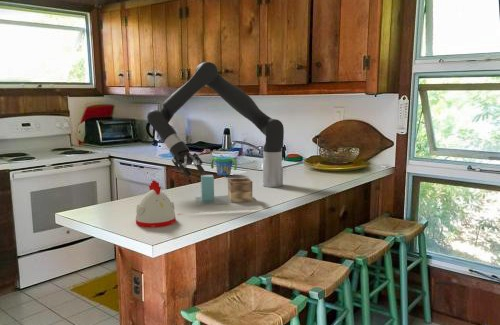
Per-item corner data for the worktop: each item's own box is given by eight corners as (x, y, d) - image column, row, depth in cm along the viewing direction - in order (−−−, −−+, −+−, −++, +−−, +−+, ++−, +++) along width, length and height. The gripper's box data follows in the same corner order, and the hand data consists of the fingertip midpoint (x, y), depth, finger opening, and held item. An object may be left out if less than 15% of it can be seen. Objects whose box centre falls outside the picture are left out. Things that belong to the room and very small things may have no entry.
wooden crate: (248, 196, 190) (248, 177, 189) (252, 201, 181) (252, 181, 180) (228, 197, 188) (227, 178, 187) (231, 202, 180) (230, 182, 179)
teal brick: (212, 197, 188) (212, 174, 187) (214, 200, 183) (213, 176, 182) (201, 198, 187) (200, 175, 186) (202, 200, 182) (201, 177, 181)
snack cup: (240, 174, 249) (240, 157, 248) (230, 177, 240) (230, 159, 239) (217, 172, 257) (217, 155, 255) (207, 175, 248) (207, 157, 246)
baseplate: (249, 196, 194) (249, 194, 194) (255, 204, 180) (255, 201, 180) (195, 199, 189) (195, 197, 189) (197, 207, 176) (197, 204, 176)
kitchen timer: (145, 230, 146) (143, 186, 144) (130, 221, 157) (128, 180, 155) (182, 223, 154) (181, 181, 152) (165, 214, 165) (164, 175, 163)
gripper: (169, 142, 184) (190, 171, 180) (191, 139, 196) (212, 166, 191) (160, 153, 188) (181, 182, 183) (183, 150, 200) (203, 177, 195)
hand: (196, 174), depth 187 cm, fingers open, 8 cm apart
